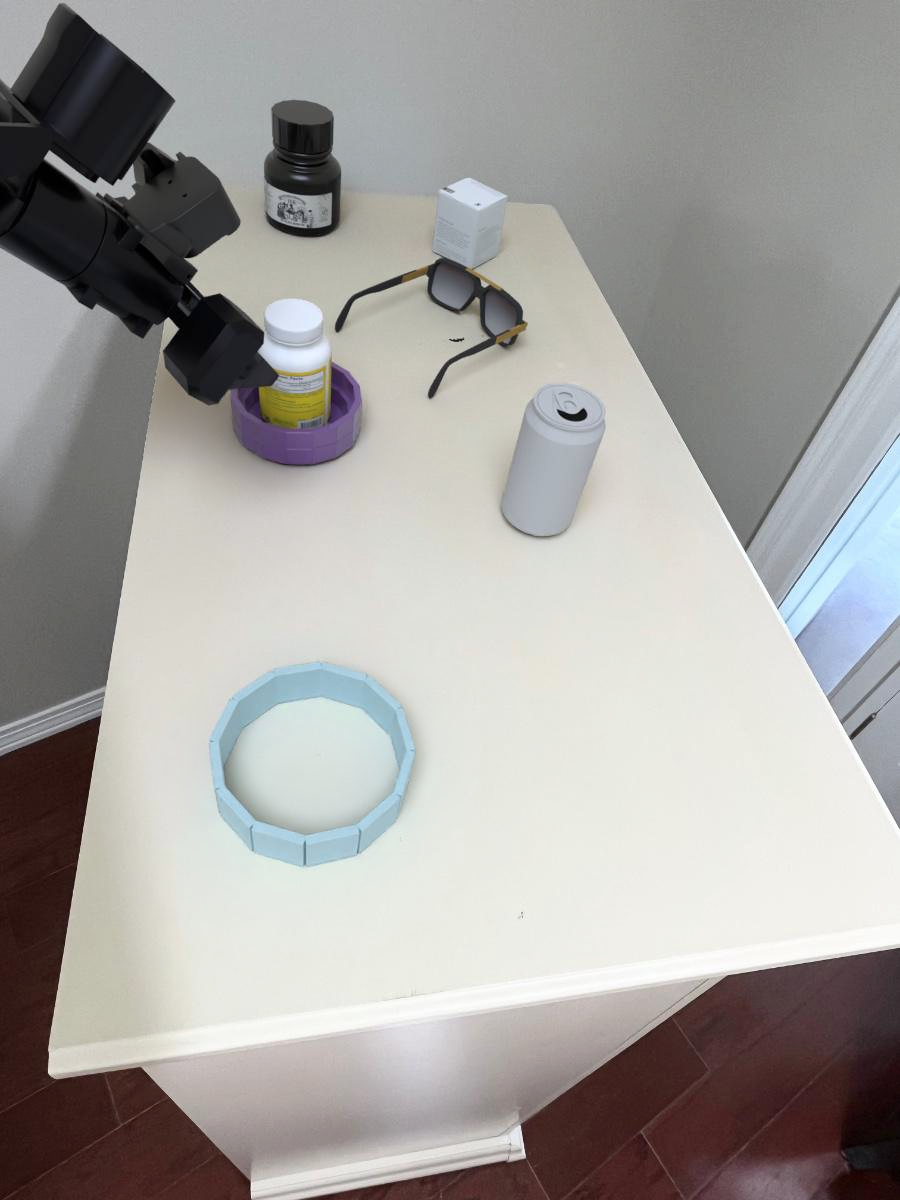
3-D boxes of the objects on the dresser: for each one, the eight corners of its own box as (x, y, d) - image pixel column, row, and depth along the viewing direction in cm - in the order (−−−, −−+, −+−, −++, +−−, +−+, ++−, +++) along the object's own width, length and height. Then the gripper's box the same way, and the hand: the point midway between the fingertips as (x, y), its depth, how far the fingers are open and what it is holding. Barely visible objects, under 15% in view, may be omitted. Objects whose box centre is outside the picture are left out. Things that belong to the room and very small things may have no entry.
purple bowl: (213, 448, 69) (208, 411, 66) (262, 377, 76) (260, 341, 73) (335, 482, 68) (337, 446, 65) (373, 407, 76) (376, 372, 73)
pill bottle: (282, 394, 74) (279, 284, 66) (341, 416, 73) (346, 308, 65) (247, 430, 70) (239, 318, 62) (309, 454, 69) (310, 344, 61)
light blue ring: (182, 831, 48) (174, 807, 45) (260, 671, 55) (257, 642, 53) (376, 889, 47) (380, 867, 44) (427, 719, 55) (433, 692, 52)
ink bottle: (250, 224, 94) (244, 114, 85) (280, 195, 100) (277, 88, 90) (327, 246, 93) (330, 137, 84) (353, 215, 99) (357, 110, 90)
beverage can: (510, 544, 67) (543, 433, 57) (490, 492, 70) (518, 379, 61) (580, 539, 68) (623, 429, 59) (557, 487, 72) (594, 377, 63)
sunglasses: (334, 332, 83) (335, 287, 79) (435, 290, 91) (440, 247, 87) (429, 400, 78) (435, 356, 74) (526, 349, 86) (536, 307, 82)
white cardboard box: (498, 256, 98) (510, 195, 92) (469, 272, 94) (479, 210, 89) (459, 236, 100) (469, 175, 94) (429, 251, 96) (437, 188, 91)
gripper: (226, 196, 43) (376, 327, 57) (84, 68, 51) (246, 210, 65) (111, 357, 45) (282, 446, 59) (-8, 210, 53) (167, 319, 67)
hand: (244, 348), depth 63 cm, fingers open, 9 cm apart
